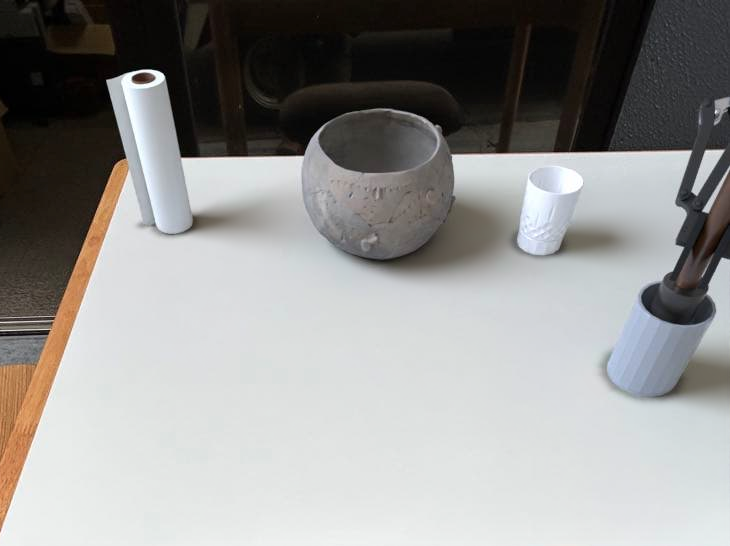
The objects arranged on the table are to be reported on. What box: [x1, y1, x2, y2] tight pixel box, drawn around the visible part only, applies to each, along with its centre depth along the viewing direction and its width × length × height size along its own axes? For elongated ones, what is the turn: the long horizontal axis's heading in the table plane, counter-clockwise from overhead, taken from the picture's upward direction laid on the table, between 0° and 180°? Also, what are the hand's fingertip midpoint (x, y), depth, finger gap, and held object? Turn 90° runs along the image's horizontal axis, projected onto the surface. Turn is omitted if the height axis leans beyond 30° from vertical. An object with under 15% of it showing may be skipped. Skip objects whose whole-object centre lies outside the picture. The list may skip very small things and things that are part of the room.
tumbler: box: [606, 280, 717, 398], centre depth 82 cm, size 9×9×11 cm
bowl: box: [300, 107, 457, 261], centre depth 99 cm, size 23×23×15 cm
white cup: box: [516, 165, 585, 256], centre depth 99 cm, size 8×8×10 cm
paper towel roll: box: [106, 69, 194, 235], centre depth 99 cm, size 7×6×21 cm
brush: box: [650, 169, 730, 325], centre depth 71 cm, size 5×5×17 cm
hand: (688, 281), depth 71 cm, fingers closed on brush, 2 cm apart
